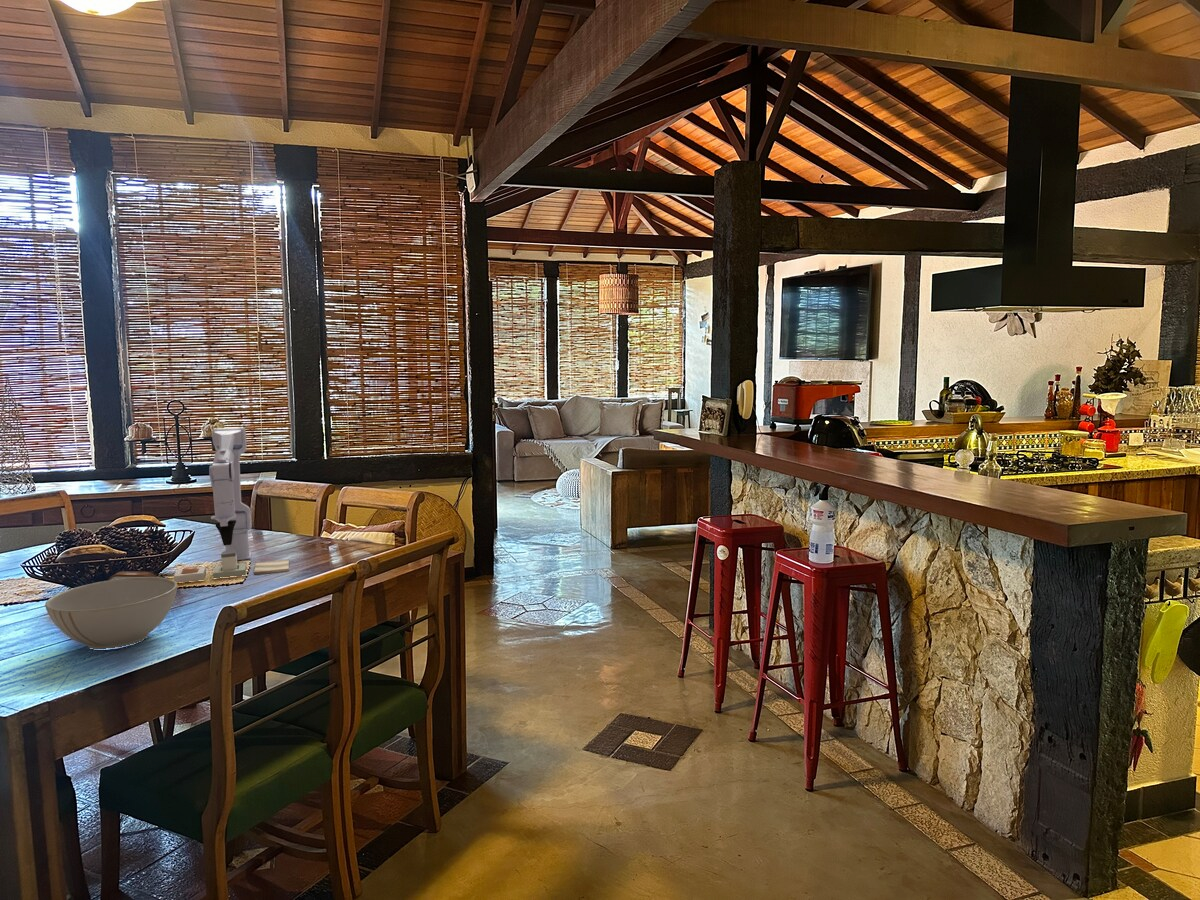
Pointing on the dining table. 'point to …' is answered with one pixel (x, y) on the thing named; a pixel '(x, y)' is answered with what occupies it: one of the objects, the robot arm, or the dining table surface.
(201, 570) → the plunger housing
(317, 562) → the dining table surface
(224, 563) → the cartridge
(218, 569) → the socket
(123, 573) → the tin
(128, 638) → the decorative bowl
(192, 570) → the plunger button
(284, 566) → the birch board
